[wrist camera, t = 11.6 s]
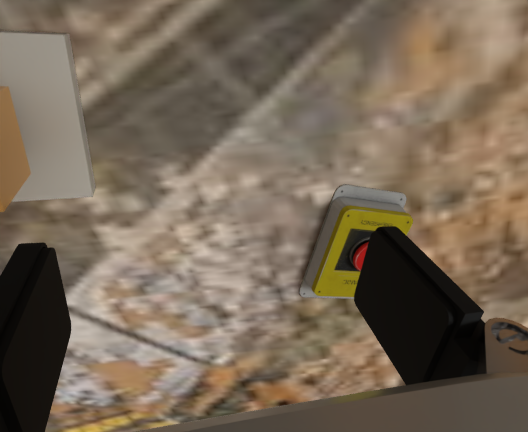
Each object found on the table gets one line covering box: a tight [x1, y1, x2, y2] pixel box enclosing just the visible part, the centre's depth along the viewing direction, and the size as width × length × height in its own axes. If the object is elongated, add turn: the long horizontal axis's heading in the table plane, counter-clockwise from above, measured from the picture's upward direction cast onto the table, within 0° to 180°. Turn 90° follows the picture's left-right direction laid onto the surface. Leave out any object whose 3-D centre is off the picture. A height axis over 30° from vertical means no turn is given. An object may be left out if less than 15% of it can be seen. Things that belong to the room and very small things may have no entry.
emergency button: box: [299, 184, 413, 299], centre depth 42 cm, size 9×4×15 cm
